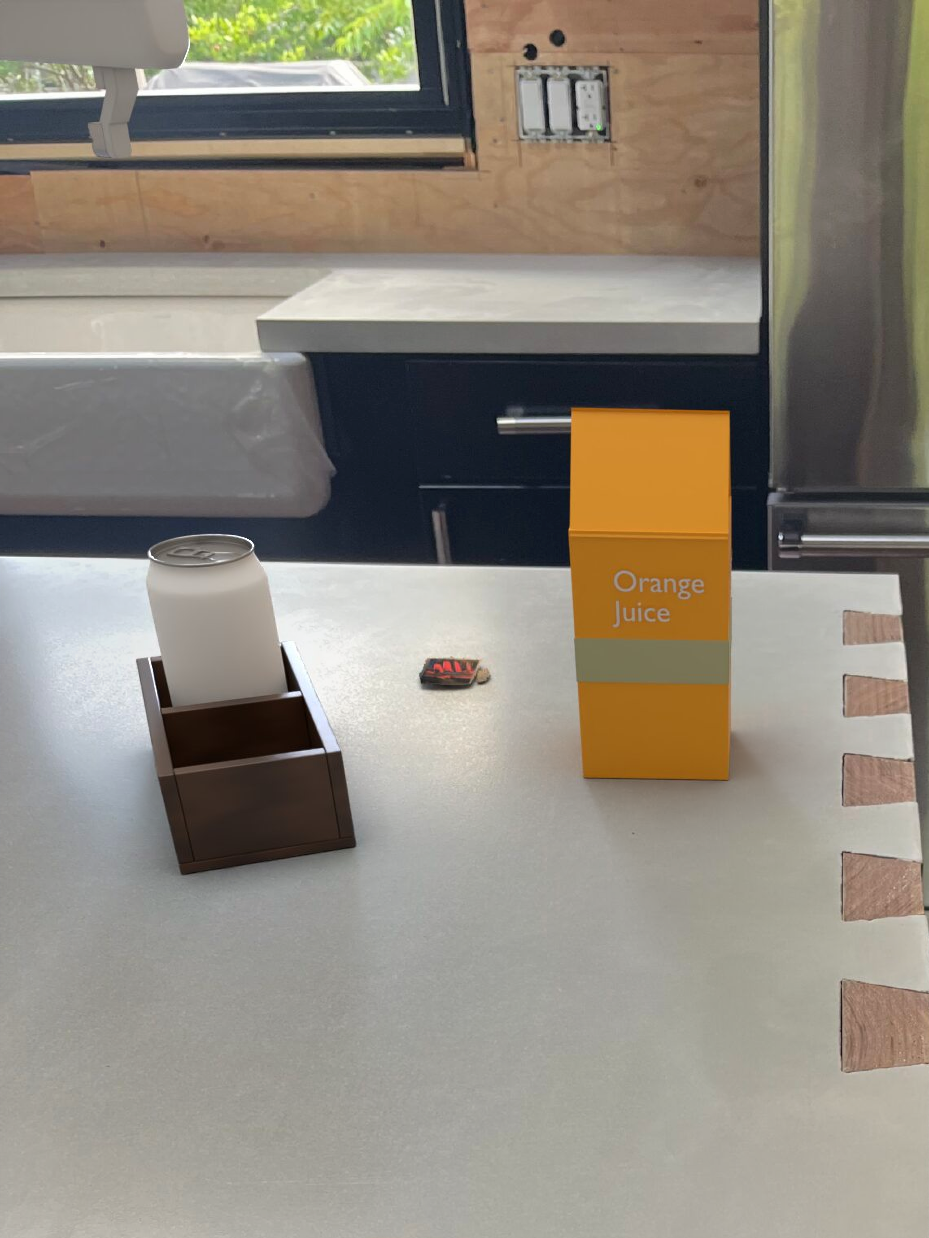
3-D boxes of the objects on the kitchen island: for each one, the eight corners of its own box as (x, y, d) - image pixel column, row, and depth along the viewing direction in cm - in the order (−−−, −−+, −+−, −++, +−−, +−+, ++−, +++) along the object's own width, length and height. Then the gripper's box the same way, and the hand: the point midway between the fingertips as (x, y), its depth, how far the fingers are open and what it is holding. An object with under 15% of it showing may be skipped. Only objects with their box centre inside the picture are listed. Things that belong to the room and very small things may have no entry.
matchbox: (420, 690, 99) (420, 683, 99) (417, 662, 103) (416, 656, 103) (491, 685, 100) (491, 678, 100) (485, 658, 104) (484, 651, 104)
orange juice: (729, 780, 89) (729, 427, 77) (581, 778, 89) (559, 424, 77) (732, 728, 95) (732, 395, 84) (594, 726, 95) (575, 391, 84)
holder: (180, 875, 78) (157, 776, 75) (156, 746, 91) (135, 658, 88) (356, 846, 81) (341, 751, 78) (308, 726, 94) (293, 640, 91)
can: (256, 781, 86) (216, 573, 79) (160, 764, 87) (112, 558, 80) (318, 738, 91) (285, 539, 84) (226, 723, 92) (186, 526, 85)
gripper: (-224, -150, 81) (-143, 144, 89) (111, -138, 78) (164, 168, 86) (-140, -141, 86) (-70, 137, 94) (178, -129, 83) (222, 159, 91)
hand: (44, 152), depth 90 cm, fingers open, 8 cm apart
